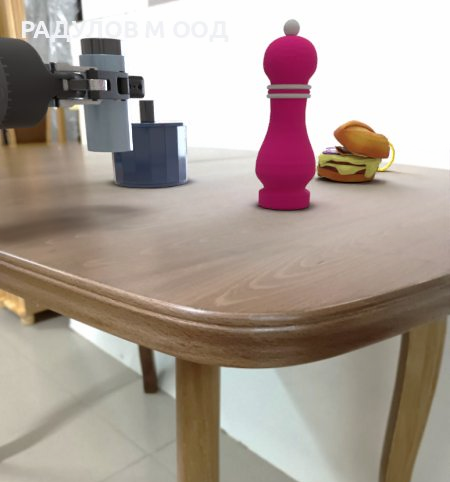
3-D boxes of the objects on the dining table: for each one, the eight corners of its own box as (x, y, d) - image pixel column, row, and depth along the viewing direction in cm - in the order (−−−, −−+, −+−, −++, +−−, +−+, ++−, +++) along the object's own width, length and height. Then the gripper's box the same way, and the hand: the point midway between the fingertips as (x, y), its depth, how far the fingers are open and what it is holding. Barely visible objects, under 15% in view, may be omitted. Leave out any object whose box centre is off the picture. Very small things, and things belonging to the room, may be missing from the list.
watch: (358, 171, 89) (362, 136, 87) (358, 169, 92) (361, 135, 89) (393, 172, 88) (397, 137, 86) (391, 170, 90) (395, 136, 88)
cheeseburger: (329, 172, 87) (347, 114, 82) (384, 192, 82) (407, 132, 77) (301, 177, 79) (320, 114, 74) (360, 200, 74) (384, 134, 70)
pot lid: (89, 130, 71) (86, 100, 70) (137, 126, 82) (136, 100, 80) (161, 132, 67) (160, 99, 65) (203, 128, 77) (202, 100, 75)
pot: (99, 184, 75) (94, 125, 71) (141, 175, 84) (138, 123, 81) (163, 189, 70) (160, 127, 67) (200, 179, 80) (199, 124, 77)
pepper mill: (323, 203, 61) (336, 20, 53) (296, 213, 55) (308, 11, 48) (272, 197, 65) (278, 26, 57) (243, 206, 59) (245, 17, 52)
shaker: (78, 150, 54) (66, 38, 50) (106, 147, 58) (97, 43, 54) (115, 153, 52) (106, 36, 48) (141, 149, 56) (135, 41, 52)
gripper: (21, 27, 36) (171, 46, 49) (-74, 38, 44) (77, 53, 57) (36, 133, 39) (173, 125, 52) (-56, 127, 47) (84, 121, 60)
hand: (123, 87), depth 54 cm, fingers closed on shaker, 5 cm apart
